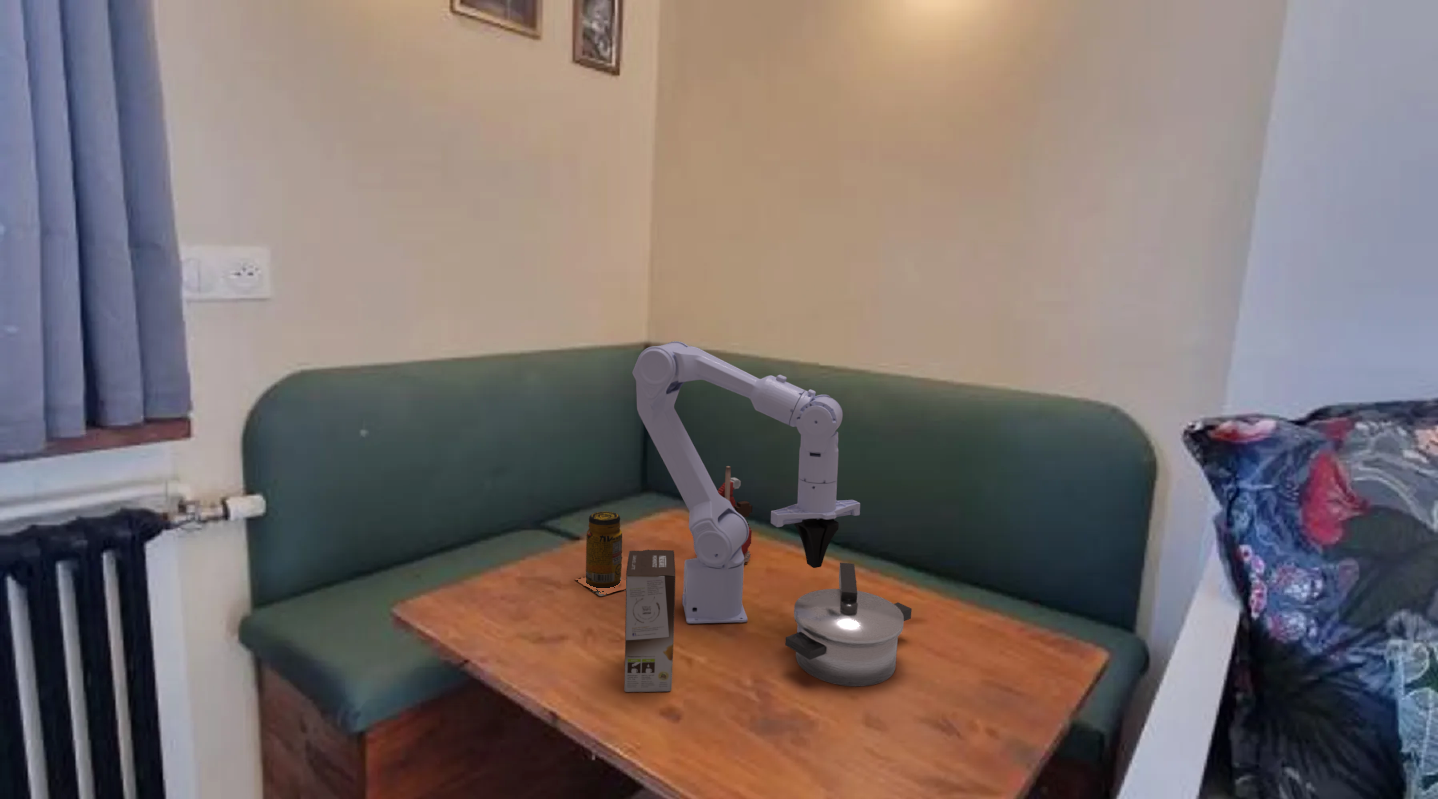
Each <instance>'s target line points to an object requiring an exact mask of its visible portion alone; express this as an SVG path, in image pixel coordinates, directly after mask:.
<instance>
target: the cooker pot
mask: <svg viewBox="0 0 1438 799" xmlns="http://www.w3.org/2000/svg"><path fill="white" fill-rule="evenodd" d="M893 604H894V605H896V606H897V607H898V608H899V609H900V610H901V612H902V613H903V616H904V622H905V621H908V620H911V618H912V610H913V609H912V608H911V607H909V606H907V605H905V604H903V603H900V602H895V603H893ZM796 632H797V633H793V634H790V635H787V636H785V644H784V645H785V646H786V647H788V648H789V649H790V650H793V651H794V652H795V659H796V662H797V664H798V666H799V668H801V669H802V670H803V671H805V672H806V673H807V674H808V675H810V676H812V677H813V678H816V679H818V680H820V681H824V682H826V683H830V684H833V685H838V686H845V687H868V686H874V685H878V684H880V683H883V682H885V681H887V680H888V679H890V678H891V677H892V676H893V675H894V673H895V670H896V665H897V664H896V663H897V652H898V639H899V636H898V637H896V638H895V639H893V640H891V641H888V642H885V643H881V644H876V645H866V646H857V645H845V644H839V643H834V642H830V641H826V640H823V639H820V638H818V637H816V636H813V635H811V634H809V633H808V632H806V631H805V630H803V629H802V628H801V627H800V626H799V625H798V624H797V629H796Z"/></svg>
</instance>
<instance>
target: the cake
mask: <svg viewBox="0 0 1438 799" xmlns="http://www.w3.org/2000/svg"><path fill="white" fill-rule="evenodd" d="M731 469H732V467H731V466H729V465H727V466H725V476H724V477H725V478H724V482H723V483H722V484H721V486H720V487H719V488H718V490H717V491H718V493H719V494H720V495H721V496H722V497H724V498H726V499H727V500H729V501H730V503H731V505H732V507H733V508H734V509H735V511H737V512H738V513H739V514H740V515H742V516H743V517H744V518H747V517H748V518H749V517H750V514H751V513H752V514H753V505H752V504H751V503H750V502H749V501H747V500H743V501H736V500H735V497H734V496H733V495H734V490H736V489H737V490H738V489H740V487H741V482H742V481H741V480H740V479H738V478H737V477H732V475H731V473H732V472H731V471H732V470H731ZM746 522H747V524H748V527H749V535H748V538H747V540H746V542H745V543H744V544H743V545H742V546H741V549H742V553H743V555H744V564H745V563H746V562H749V561H750V558H751V553H750V550H749V548H750V546H751V544H752V529H751V528H752V527H750V524H749V521H748V520H746Z"/></svg>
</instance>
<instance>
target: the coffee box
mask: <svg viewBox="0 0 1438 799" xmlns="http://www.w3.org/2000/svg"><path fill="white" fill-rule="evenodd" d="M675 560H676V559H675V550H668V549H645V550H629V552H628V555H627V565H626V573H625V579H626V590H625V624H624V625H625V626H624V627H625V628H624V629H625V631H624V632H625V633H624V639H625V640H624V641H625V642H624V688H623V690H624V692H625V693H635V692H636V693H637V692H639V693H642V692H643V693H645V692H647V693H648V692H649V693H651V692H653V693H654V692H656V693H657V692H671V691H672V684H673V662H674V639H675V638H674V636H675V611H676V610H675V608H676V607H675V606H676V605H675V604H676V602H675V600H676V565H675V564H676V563H675V562H676V561H675Z"/></svg>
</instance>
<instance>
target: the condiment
mask: <svg viewBox="0 0 1438 799" xmlns="http://www.w3.org/2000/svg"><path fill="white" fill-rule="evenodd" d="M585 536H586V543H585V544H586V545H585V546H586V549H585V550H586V551H585V553H586V554H585V577H586V583H587V584H589V585H590V586H593V587H596V588H610V587H614V586H616V585H618V584H619V583H620V581H621V578H622V566H623V565H622V560H623V531H622V529H621V517H620V515H619V514H618V513H616V512H613V511H604V510H603V511H596V512H593V513H592V514H590V516H588V529H587V531H586V535H585ZM614 588H615V587H614ZM591 590H592V589H589V591H591ZM596 590H597V589H596ZM591 592H593V593H594V592H596V593H595V594H596V595H598V596H599V597H602V596H605V595H604V594H599V592H600V591H598V590H597V591H591ZM602 592H604V591H602ZM600 593H601V592H600ZM606 594H607V593H606Z"/></svg>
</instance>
